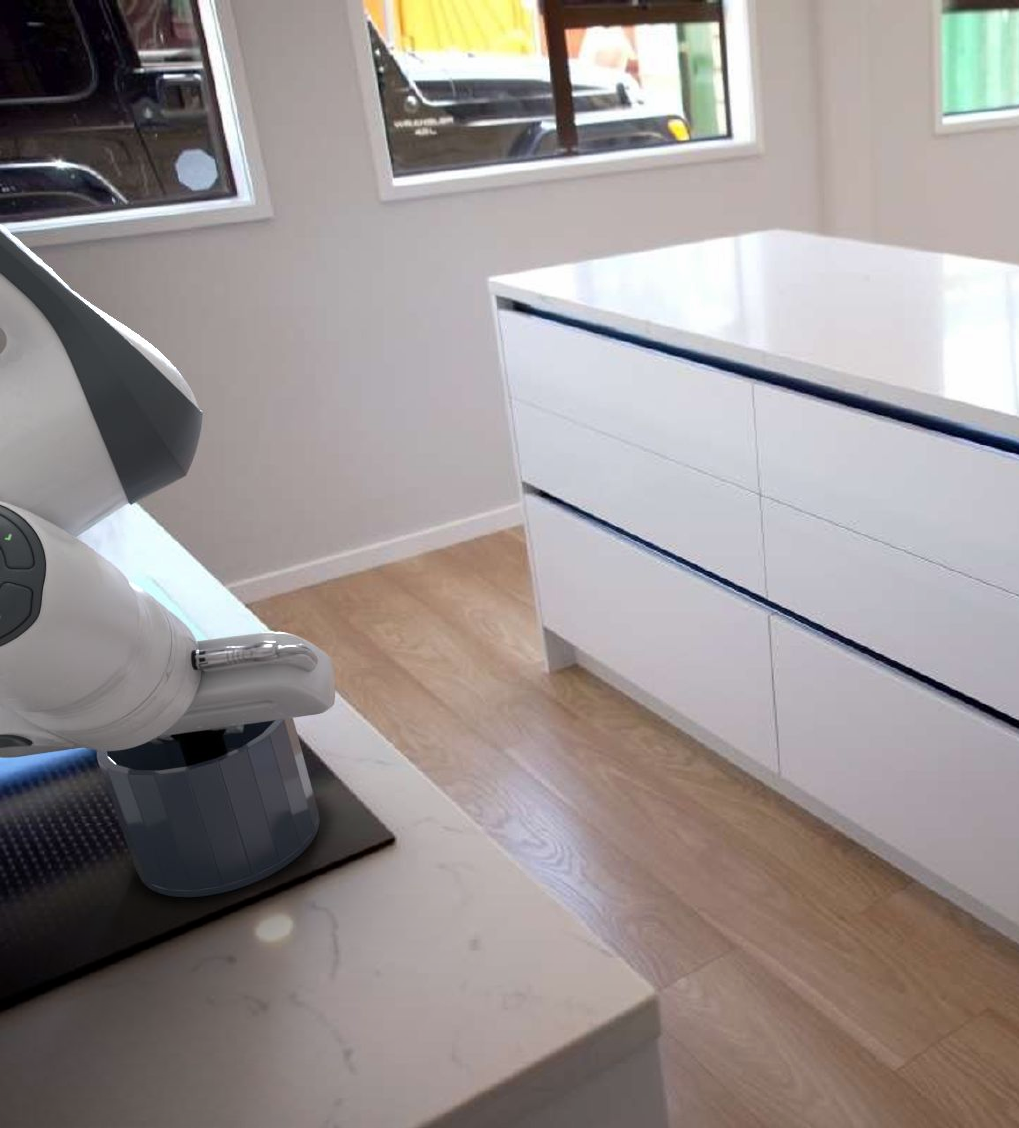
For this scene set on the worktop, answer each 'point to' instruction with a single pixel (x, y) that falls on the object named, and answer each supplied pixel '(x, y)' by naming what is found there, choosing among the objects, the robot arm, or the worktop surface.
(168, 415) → the robot arm
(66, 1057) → the worktop surface
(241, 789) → the processor bowl
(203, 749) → the blade unit
